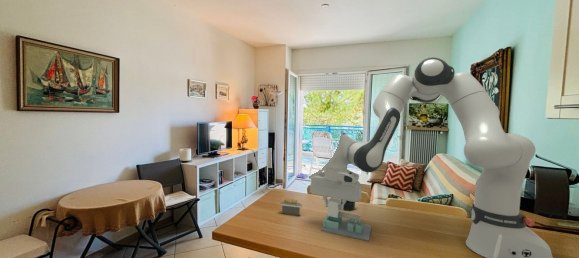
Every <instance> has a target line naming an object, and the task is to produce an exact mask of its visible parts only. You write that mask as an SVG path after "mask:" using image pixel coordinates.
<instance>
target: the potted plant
mask: <svg viewBox="0 0 579 258" xmlns="http://www.w3.org/2000/svg"><path fill="white" fill-rule="evenodd" d="M279 205H280V206H281V213H282V214H283V213H285V214H284V215H291V216H298V215H301V213H300V210H301V208H302V207H303V204H302V203H300V202H298V200H297V199H291V198H284V199H283V201H281V202H279Z"/></svg>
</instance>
